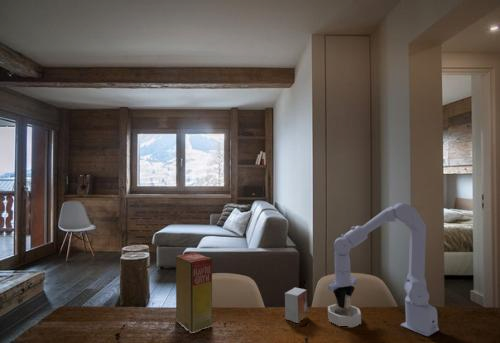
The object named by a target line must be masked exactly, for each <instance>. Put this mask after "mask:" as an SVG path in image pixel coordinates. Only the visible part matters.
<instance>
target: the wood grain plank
mask: <svg viewBox="0 0 500 343" xmlns="http://www.w3.org/2000/svg"><path fill="white" fill-rule="evenodd" d="M351 299H352V297H351V298H350V296H349V295H347V294H346V295H345V304H344V308H341V307H339V306H338V302H337V299H336V298H335V304H336V309H338V310H341V311H343V312H345V313H346V316H351V306H352V305H351V304H352V302H351Z"/></svg>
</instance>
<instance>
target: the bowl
mask: <svg viewBox="0 0 500 343" xmlns="http://www.w3.org/2000/svg"><path fill="white" fill-rule="evenodd" d="M351 309H353V316H341V315H337V314H335V310H336V303H334V304H331V305H328V306H327V318H328V319H329V320H328V322H329V321H330V322H329V323H331V322H332V323H331V324H333V323H334V324H333V325H335V324H336V326H337V325H338V326H337V327H340V326H348V327H347V328H354V327H357V326H359V324H360V325H362V313H361V312H362V311H361V310H360V308H359V307H356V306H353V305H351Z"/></svg>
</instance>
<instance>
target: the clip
mask: <svg viewBox="0 0 500 343" xmlns="http://www.w3.org/2000/svg"><path fill="white" fill-rule="evenodd" d="M335 314H337V315H341V316H346V313H345V312H343V311H341V310H338V309H336V310H335ZM351 316H353V309H351Z"/></svg>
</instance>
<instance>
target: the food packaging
mask: <svg viewBox="0 0 500 343" xmlns="http://www.w3.org/2000/svg"><path fill="white" fill-rule="evenodd" d="M176 318H177V319H178V320H179V321H180V322H181V323H182V324H183V325H184V326H185V327H186V328H187V329H189V330H190V331H191V332H193V331H196V330H199V329H202V328H205V327H208V326H211V325H212V326H213V258H211V257H208V256H206V255H203V254H200V253H197V252H191V253H185V254H180V255H176V256H175V319H176Z"/></svg>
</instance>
